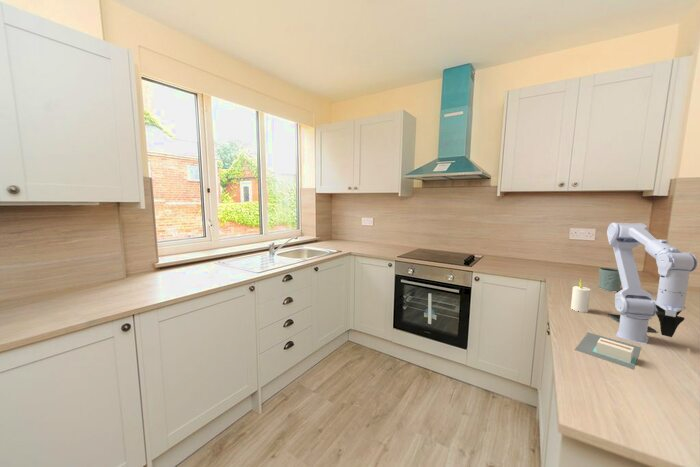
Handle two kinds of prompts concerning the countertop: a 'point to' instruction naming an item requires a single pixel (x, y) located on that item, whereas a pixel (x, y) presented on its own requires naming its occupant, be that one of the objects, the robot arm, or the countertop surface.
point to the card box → (615, 350)
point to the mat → (589, 347)
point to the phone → (617, 318)
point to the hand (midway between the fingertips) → (666, 331)
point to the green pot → (609, 279)
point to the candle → (580, 298)
